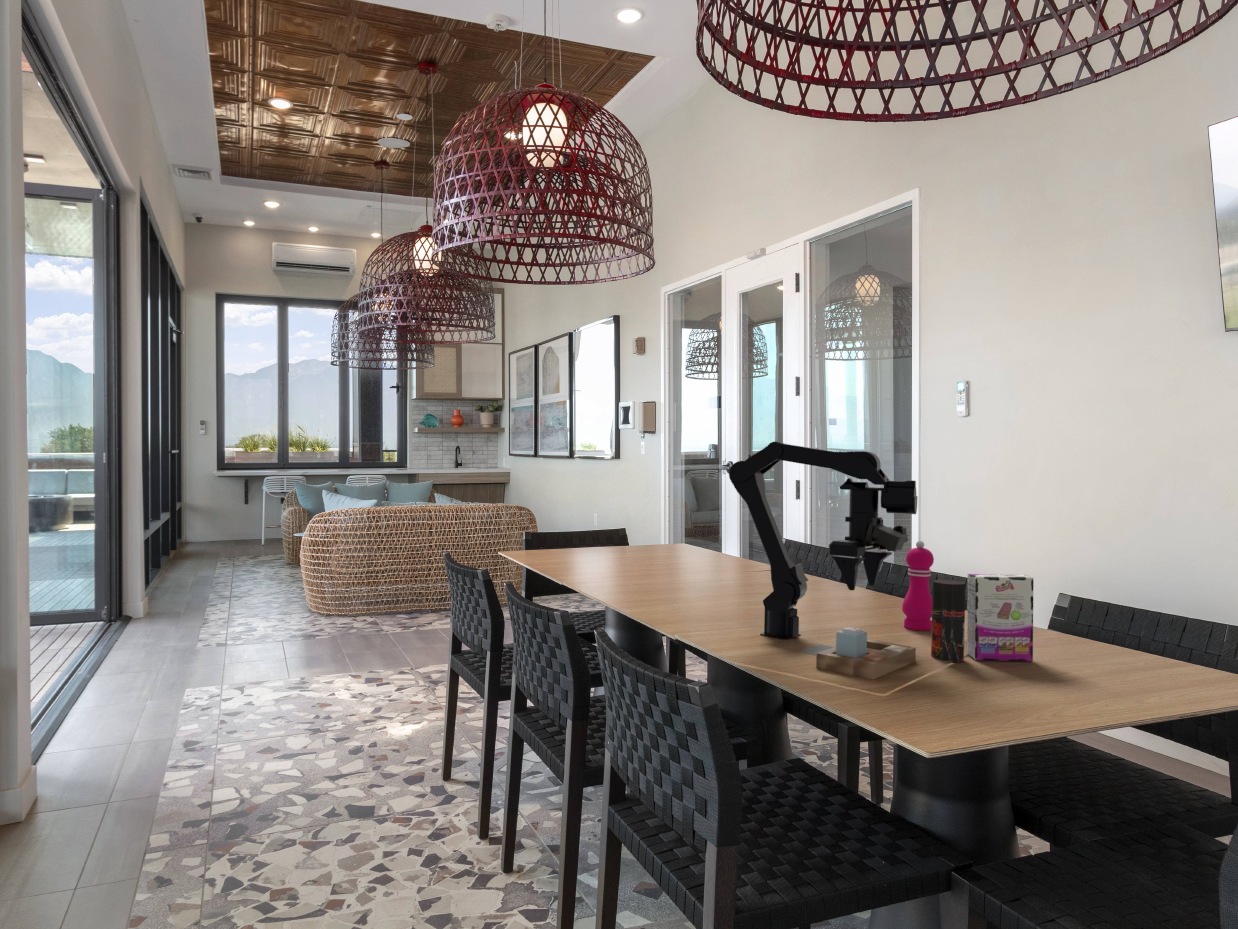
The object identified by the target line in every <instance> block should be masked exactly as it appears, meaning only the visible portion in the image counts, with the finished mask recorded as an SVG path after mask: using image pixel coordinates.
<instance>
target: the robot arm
mask: <svg viewBox="0 0 1238 929" xmlns="http://www.w3.org/2000/svg"><path fill="white" fill-rule="evenodd" d="M880 460H881V459H880V458H879V456H877V454H876V453H874V452H872V451H867V450H866V451H863V450H860V451H858V450H857V451H853V450H851V451H850V450H849V451H832V450H826V449H820V448H813V447H807V446H801V445H795V444H794V445H793V444H790V443H784V442H782V441H771V442H770V443H769V444H767V445H766V446H765V447H764V448H762V449H761V450H759V451H757V452H755V453H754V454H753V455H751V456H750V457H748V458H747V459H745V460H738V461H736V462H734V463H733V464H732V465H731V467H730V469H729V472H728V478H729V480H730V482H731V483H732V485H733V488H734V489H735V491H736V492H737V493H738V494H739V496H740V497H741V498H742V499H743V501H744V502H745V503H746V505H747V507H748V510H749V513H750V516H751V518H752V521H753V524H754V526H755V529H756V531H757V534H758V537H759V539H760V541H761V544H762V546H763V550H764V552H765V555H766V557H767V560H768V562H769V566H770V580H771V586H772V589H773V591H772V592H770V594H768V595H767V596H765V598H764V599H763V600H762V604H763V606H764V616H763V617H764V620H763V622H764V626H763V627H764V628H763V632H760V634H759V635H760V636H762V637H767V638H771V639H772V638H773V639H778V640H783V641H789V640H791V639H794V638H797V637H800V636H802V635H801V633H800V630H799V628H800V617H799V616H798V608H795V607H796V606H797V604H798V602H799V600H800V599H802V598H803V597H804V596H805V595H806V593H807V590H808V583H807V582H808V581H809V578H807V575H806V574H805V571H804V567H803V563H802V562H799V563H798V564H795V563H794V561H793V560H792V559H791V557H790V555H789V553H788V551H787V548H786V546H785V542H784V541H783V538H782V536H781V533H780V530H779V528H778V525H777V522H776V521H775V518H774V516H773V515H774V514H773V512H772V510H771V508H770V505H769V501H768V500H767V497H766V482H765V478H764V475H765V474H766V473H767V472H769V471H770V470H771V469H772V468H773V467H774V466H776V465H777V464H778V463H779V462H781V461H783V462H790V463H795V464H801V465H808V466H813V467H819V468H825V469H831V470H832V471H833V470H834V471H836V472H839V473H841V474H844V475H846V476H848V478H847V479H846V480H845V481H844V483H843V484H841V485H840V486H839V489H840V490H849V505H848V506H849V507H848V508H849V509H848V510H849V512H848V515H849V516H844V518H845V519H844V520H845V523H847V522H848V535H847V536H844V540H843V539H838V540H832V541H831V542H830V544H828V555H831V559H834V561H835V563H836V565H837V568H838V570H839V571H840V573H841V575H842V577H843V580H844V582H845V584H846V586H847V589H848V590H849V591H855V590H856V585H857V578H858V572H859V565H860V564H861V563H863V567H864V570H865V575H866V578H867V582H868V585H869V586H871V587H872V586H876V583H877V579H878V577H879V574H880V571H881V567H882V565H883V562H884V560H885V559H886V558H888V557H889V556H892V554H893V552H897V551H903V550H902V549H903V547H904V545H905V543H908V541H909V539H908V536H909V535H908V534H907V527H905V526H903V525H900V524H899V525H895V527H891V526H890V527H888V526H886V525H884V519H883V517H880V516H879V491H880V508H882V509H886V510H885V511H886V513H887V514H901V515H903V514H904V515H917V512H918V511H917V510H918V497H919V496H917V481H916V480H912V479H911V480H904V481H903V480H890V479H889V478H888V476H887V475H886V474H885V473H884V471H883V469H882V467H881V465H882V464H881V463H882V462H881V461H880ZM849 476H850V477H849ZM851 477H852V478H856V479H858V480H867V481H868V482H867V481H853V479H852V478H851ZM869 482H870V483H872V484H873V485H877V486H881V485H882V486H883V487H874V486H873V487H871V486H870V487H869Z"/></svg>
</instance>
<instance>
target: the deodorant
mask: <svg viewBox="0 0 1238 929" xmlns="http://www.w3.org/2000/svg"><path fill="white" fill-rule="evenodd" d="M931 593H932V594H931V596H932V617H931V620H932V630H931V634H930V635H931V636H930V637H931V640H930V641H931V644H930V657H932V658H933V659H936V660H942V661H949V663H951V664H958V663H959V664H960V663H963V662H964V661H965V660H964V659H965V623H966V622H965V621H966V615H965V614H966V582H964V581H961V580H954V579H933V580H932V591H931Z"/></svg>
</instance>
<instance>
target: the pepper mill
mask: <svg viewBox="0 0 1238 929" xmlns="http://www.w3.org/2000/svg"><path fill="white" fill-rule="evenodd" d="M915 545H916V547H913V548H911V549H909V551H907V553H906V556H905V561H906V565H908V566H909V568H907V570H908V573H907V575H908V576H909V587H908V590H907V593H906V595H905V597H904V598H903V602H902V605H901V606H902V607H901V610H902V612H903V614H904V616H905V618H903V627H904V628H905V629H908V630H912V631H913V630H914V631H932V594H931V591H930V585H929V584H930V581H929V580H930V577H931V576H932V573H931V572H932V570H931V567H932V566H933V564H934V560H935V559H934V555H933V553H932V551H930V549H928V548H925V543H924V541H922V540H919V541H917V542H916V543H915Z"/></svg>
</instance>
